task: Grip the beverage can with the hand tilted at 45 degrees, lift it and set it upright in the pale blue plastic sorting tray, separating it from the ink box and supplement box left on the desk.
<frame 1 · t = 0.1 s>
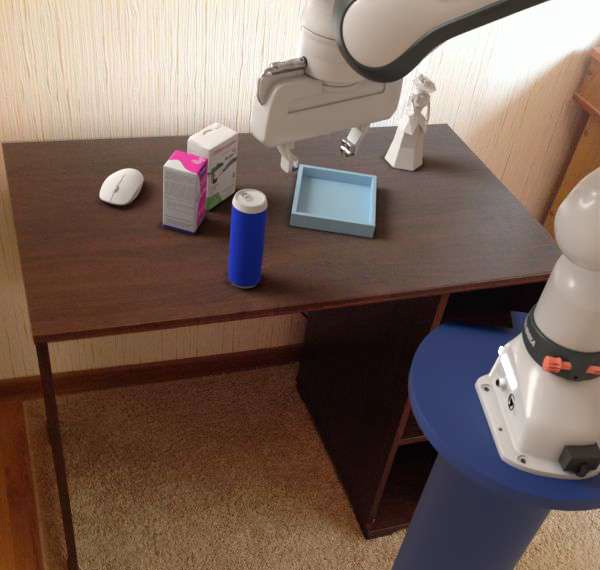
hand: (319, 161, 96), 26 cm above the table, tool pointing down, fingers open, 8 cm apart
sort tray: (333, 205, 137), on the table
figurine: (403, 161, 151), on the table
supplement box: (184, 223, 128), on the table
ink box: (211, 197, 134), on the table
computer mouse: (123, 193, 132), on the table
beverage can: (244, 280, 119), on the table
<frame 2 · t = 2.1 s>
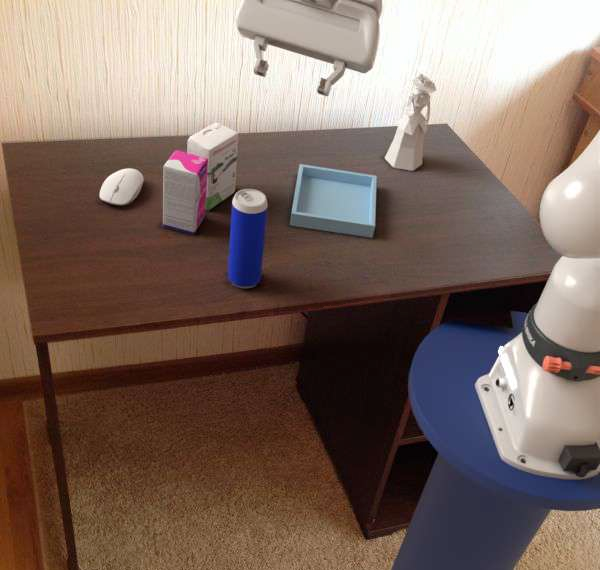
hand: (290, 84, 105), 28 cm above the table, tool tilted 40°, fingers open, 8 cm apart
nothing on the table moved.
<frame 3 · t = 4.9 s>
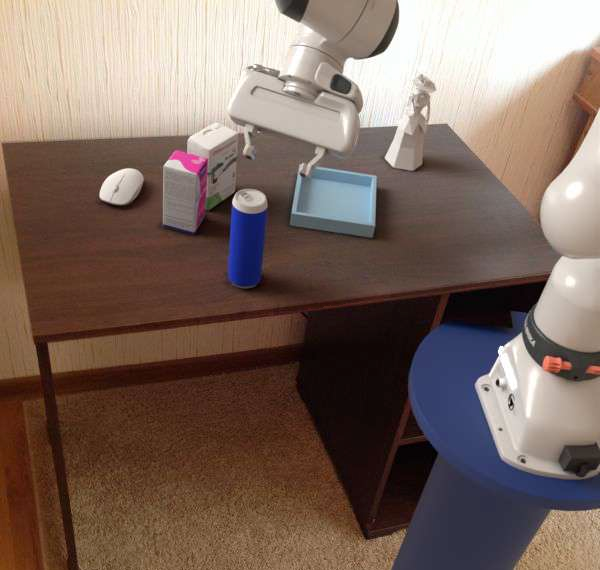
hand: (275, 167, 114), 16 cm above the table, tool tilted 45°, fingers open, 8 cm apart
nothing on the table moved.
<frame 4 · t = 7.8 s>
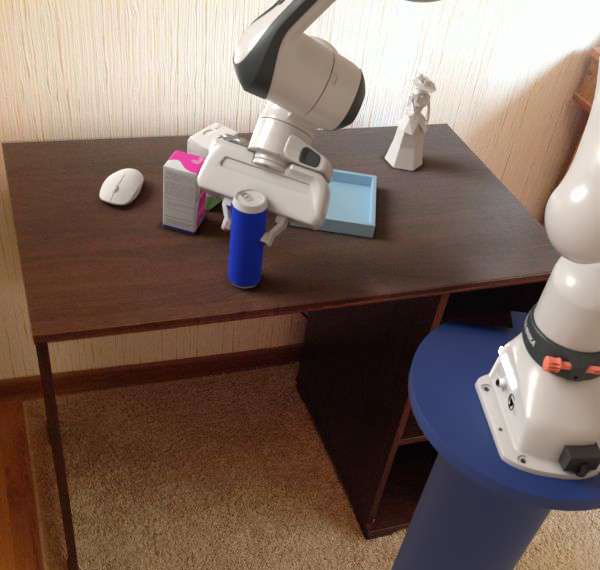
hand: (245, 238, 113), 8 cm above the table, tool tilted 45°, fingers closed on beverage can, 5 cm apart
beverage can: (244, 280, 119), on the table, touching gripper
everything else where it was.
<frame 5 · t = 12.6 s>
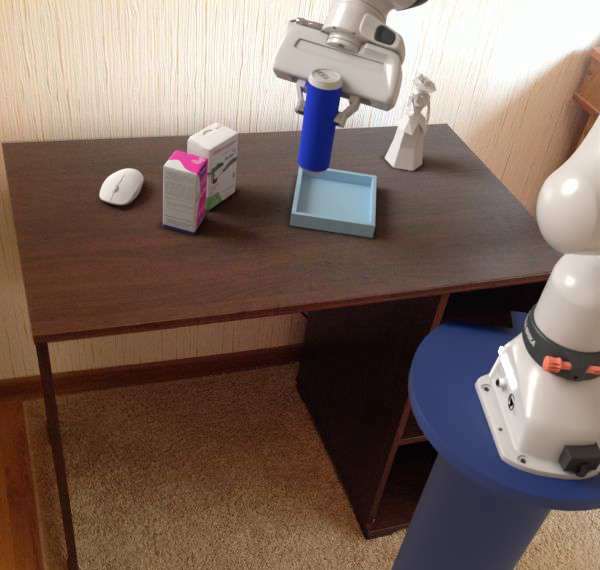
hand: (319, 119, 115), 20 cm above the table, tool tilted 45°, fingers closed on beverage can, 5 cm apart
beverage can: (312, 167, 122), point 12 cm above the table, touching gripper
everything else where it was.
when the fingers open (9 cm above the table, at t = 17.5 s): beverage can stays where it is, resting on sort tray.
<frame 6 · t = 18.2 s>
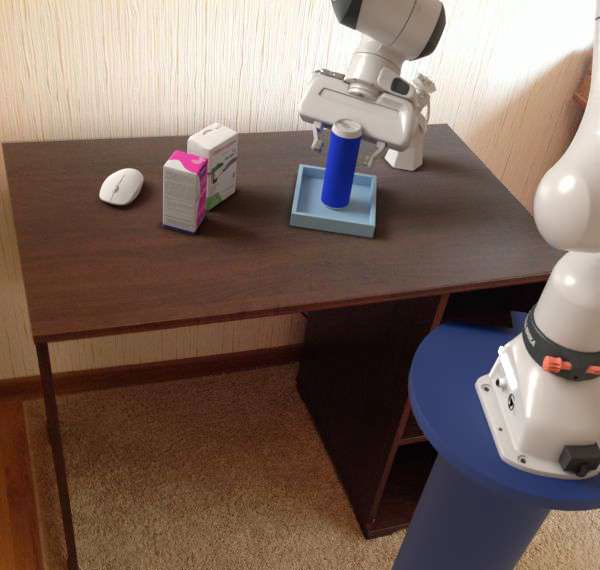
hand: (340, 159, 129), 10 cm above the table, tool tilted 45°, fingers open, 8 cm apart
beverage can: (334, 204, 136), resting on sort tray
everything else where it was.
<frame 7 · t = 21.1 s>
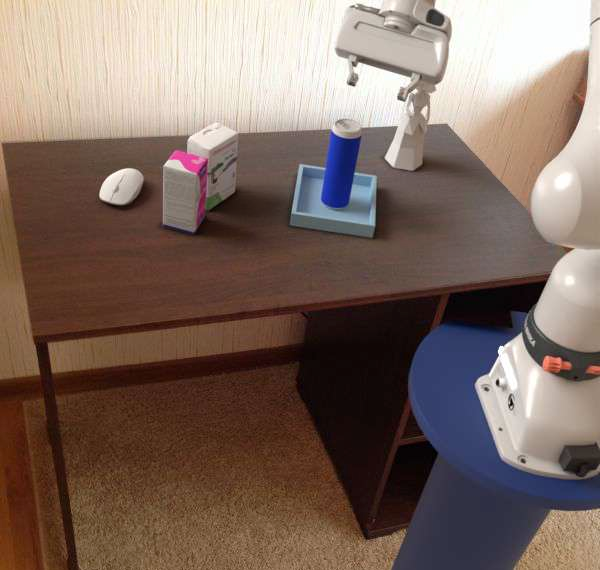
hand: (375, 92, 132), 17 cm above the table, tool tilted 45°, fingers open, 8 cm apart
nothing on the table moved.
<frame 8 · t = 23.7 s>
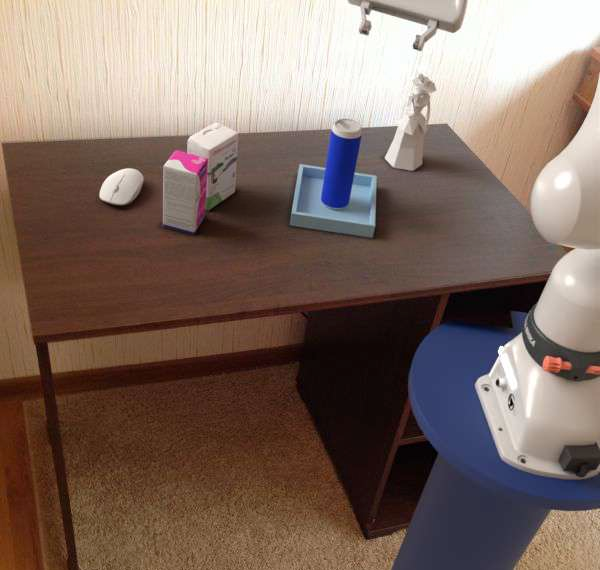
hand: (389, 40, 124), 26 cm above the table, tool tilted 45°, fingers open, 8 cm apart
nothing on the table moved.
at the end: beverage can inside the target area in the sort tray (0.0 cm from its centre), point 0.3 cm above the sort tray's base; beverage can tilted 0°; the gripper is holding nothing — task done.
